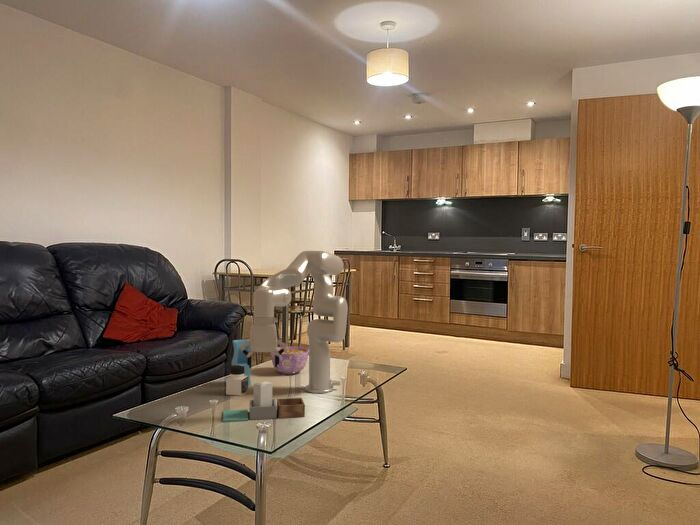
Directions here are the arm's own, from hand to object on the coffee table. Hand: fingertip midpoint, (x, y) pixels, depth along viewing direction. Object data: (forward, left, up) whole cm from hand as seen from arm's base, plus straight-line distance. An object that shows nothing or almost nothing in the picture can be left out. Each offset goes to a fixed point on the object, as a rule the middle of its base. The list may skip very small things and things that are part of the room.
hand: (263, 366), depth 196 cm
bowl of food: (-17, -67, -18) cm, 72 cm away
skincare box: (0, 0, -18) cm, 19 cm away
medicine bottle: (+9, -32, -18) cm, 38 cm away
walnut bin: (-11, 0, -18) cm, 21 cm away
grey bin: (0, 0, -18) cm, 18 cm away
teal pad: (+10, 0, -18) cm, 21 cm away
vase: (+7, -47, -18) cm, 51 cm away
